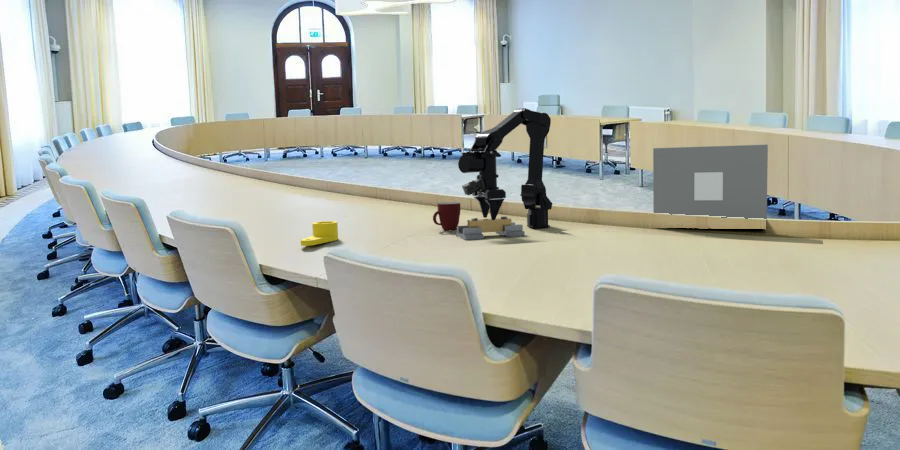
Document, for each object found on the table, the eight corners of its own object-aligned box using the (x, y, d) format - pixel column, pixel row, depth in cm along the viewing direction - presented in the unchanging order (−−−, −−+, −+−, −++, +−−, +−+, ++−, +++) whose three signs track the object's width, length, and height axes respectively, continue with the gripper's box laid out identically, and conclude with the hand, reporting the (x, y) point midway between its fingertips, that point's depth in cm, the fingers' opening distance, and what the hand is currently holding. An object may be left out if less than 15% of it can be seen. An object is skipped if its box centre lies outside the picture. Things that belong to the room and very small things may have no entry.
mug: (442, 234, 239) (441, 205, 237) (428, 232, 245) (427, 204, 244) (465, 230, 245) (464, 202, 244) (451, 229, 251) (450, 201, 250)
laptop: (765, 221, 244) (766, 143, 241) (766, 230, 220) (767, 144, 217) (662, 220, 258) (662, 146, 255) (653, 228, 234) (653, 148, 231)
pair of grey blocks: (512, 231, 237) (512, 221, 237) (524, 236, 226) (524, 225, 225) (456, 235, 232) (455, 225, 232) (465, 240, 221) (465, 229, 220)
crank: (321, 238, 242) (320, 221, 241) (342, 238, 239) (341, 221, 238) (293, 245, 225) (292, 227, 224) (315, 245, 222) (314, 227, 221)
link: (508, 229, 232) (508, 215, 232) (511, 230, 228) (511, 217, 228) (467, 231, 230) (467, 218, 229) (470, 233, 226) (469, 219, 225)
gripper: (456, 171, 234) (458, 217, 235) (471, 173, 216) (473, 223, 217) (488, 170, 236) (489, 215, 238) (505, 171, 218) (507, 221, 220)
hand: (489, 218), depth 228 cm, fingers open, 9 cm apart
